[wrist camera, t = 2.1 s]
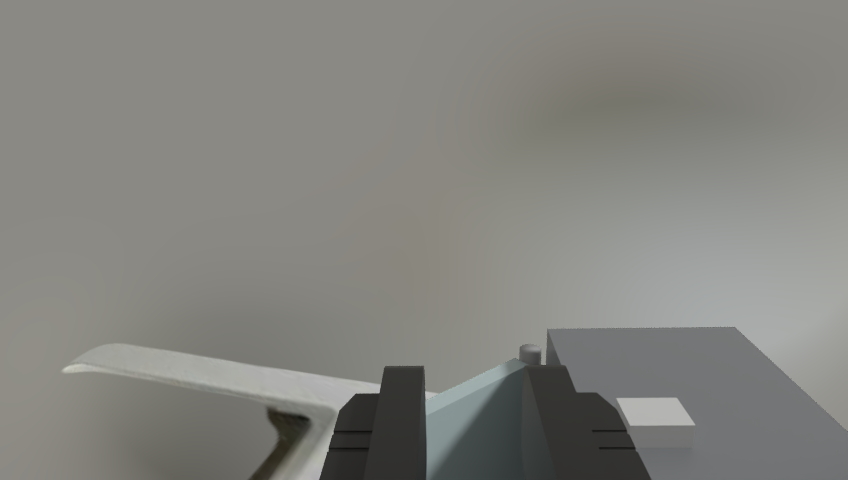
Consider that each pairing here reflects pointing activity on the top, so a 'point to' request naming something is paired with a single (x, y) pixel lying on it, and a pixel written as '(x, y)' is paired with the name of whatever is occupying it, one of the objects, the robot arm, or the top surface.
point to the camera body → (704, 403)
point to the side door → (479, 424)
